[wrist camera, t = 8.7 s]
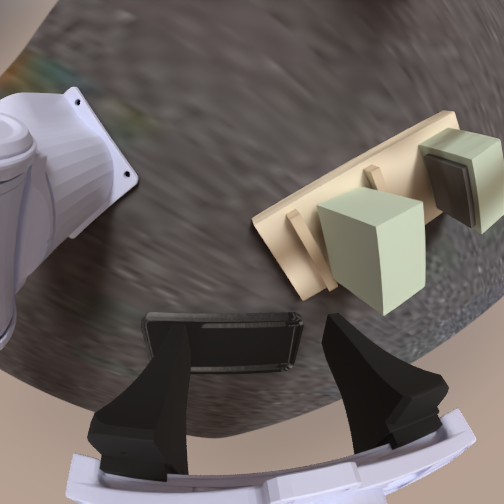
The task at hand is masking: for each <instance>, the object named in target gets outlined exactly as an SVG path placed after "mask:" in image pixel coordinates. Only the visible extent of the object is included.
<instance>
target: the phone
mask: <svg viewBox="0 0 504 504" xmlns="http://www.w3.org/2000/svg"><path fill="white" fill-rule="evenodd" d="M173 324H186V328H187V333H188V339H189V344H190V349H191V372H190V374H248V373H268V372H282V371H287V370H289V369H291V368H292V367H293V365H294V362H295V359H296V355H297V351H298V347H299V343H300V339H301V334H302V330H303V321H302V318H301V316H300V315H299V314H297V313H293V312H288V313H250V314H198V313H160V312H150V313H147V314H145V315H144V317H143V319H142V322H141V328H142V333H143V337H144V341H145V345H146V349H147V353H148V357H149V360H150V361H151V360H152V359H153V357H154V356H155V354H156V353H157V351H158V350H159V348H160V346H161V345H162V343H163V341H164V340H165V338H166V336H167V334H168V332H169V331H170V329H171V327H172V325H173Z"/></svg>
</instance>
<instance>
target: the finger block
mask: <svg viewBox="0 0 504 504" xmlns="http://www.w3.org/2000/svg"><path fill="white" fill-rule="evenodd" d="M316 206H317V210H318V214H319V218H320V222H321V226H322V231H323V235H324V239H325V244H326V248H327V253H328V257H329V262H330V267H331V272H332V277H333V279H334V280H336V281H337V282H339V283H340V284H341V285H343V286H344V287H345V288H347V289H348V290H349V291H351V292H352V293H353V294H355V295H356V296H357V297H359V298H360V299H361V300H363V301H364V302H365V303H367V304H368V305H369V306H371V307H372V308H373V309H375V310H376V311H377V312H379V313H380V314H381V315H383V316H385V315H386V314H387V313H389V312H390V311H392V310H393V309H395V308H396V307H397V306H399V305H400V304H402V303H403V302H404V301H406V300H407V299H409V298H410V297H411V296H413V295H414V294H415V293H417V292H418V291H419V290H421V289H422V288H423V287H424V286H425V225H424V210H423V202H422V201H418V200H414V199H410V198H407V197H403V196H399V195H395V194H391V193H386V192H382V191H378V190H374V189H369V188H365V187H358V188H356V189H353V190H351V191H348V192H346V193H344V194H341V195H339V196H336V197H334V198H332V199H329V200H327V201H324V202H322V203H320V204H317V205H316Z"/></svg>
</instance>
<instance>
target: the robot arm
mask: <svg viewBox="0 0 504 504" xmlns="http://www.w3.org/2000/svg"><path fill="white" fill-rule="evenodd" d="M79 99H80V101H81V102H80V104H79V105H77V101H78V100H79ZM126 171H128V172H130V177H127V176H126V175H125V172H126ZM138 180H139V179H138V176H137V174H136V173H135V171H134V170H133V168H132V167H131V166H130V164H129V163H128V161H127V160H126V159H125V157H124V156H123V154H122V153H121V151H120V150H119V149H118V147H117V146H116V144H115V143H114V141H113V140H112V138H111V137H110V136H109V134H108V133H107V131H106V130H105V128H104V127H103V125H102V124H101V122H100V121H99V119H98V118H97V116H96V115H95V113H94V112H93V110H92V109H91V107H90V106H89V104H88V103H87V101H86V100H85V98H84V97H83V95H82V93H81V92H80V90H79V89H78V88H77V87H71V88H70V89H68V90H67V91H66V92H65V93H64V94H49V93H16V94H13V95H10V96H8V97H5V98H3V99H1V100H0V350H1V349H2V348H3V347H4V346H5V345H6V344H7V342H8V341H9V339H10V338H11V336H12V333H13V331H14V328H15V324H16V316H17V312H16V304H15V298H14V295H15V294H16V293H17V292H18V291H19V290H20V288H21V287H22V286H23V285H24V284H25V283H26V278H27V276H28V275H30V274H31V273H32V272H33V271H34V270H35V269H36V268H37V267H38V266H39V265H40V264H41V263H42V262H43V261H44V260H45V259H46V258H47V257H48V256H49V255H50V254H51V253H52V252H53V251H54V250H55V249H56V248H57V247H58V246H59V245H60V244H61V243H62V242H63V241H64V240H65V239H66V238H67V237H70V238H72V239H74V238H75V237H76V236H77V235H78V234H80V233H81V232H82V231H83V230H84V229H85V228H86V227H87V226H88V225H89V224H90V223H91V222H92V221H94V220H95V219H96V218H97V217H98V216H99V215H100V214H101V213H103V212H104V211H105V210H106V209H107V208H108V207H109V206H111V205H112V204H113V203H114V202H115V201H117V200H118V199H119V198H120V197H121V196H123V195H124V194H125V193H126V192H127V191H129V190H130V189H131V188H132V187H134V186H135V185H136V184H137V183H138ZM322 346H323V350H324V354H325V357H326V360H327V362H328V365H329V367H330V370H331V372H332V374H333V376H334V379H335V381H336V383H337V386H338V388H339V390H340V393H341V396H342V399H343V402H344V406H345V410H346V414H347V418H348V422H349V426H350V431H351V436H352V442H353V448H354V455H351V456H348V457H344V458H340V459H336V460H332V461H328V462H323V463H319V464H314V465H309V466H304V467H298V468H292V469H286V470H279V471H271V472H262V473H252V474H239V475H238V474H237V475H189V474H188V462H187V448H186V447H187V445H186V404H187V396H188V388H189V380H190V372H191V349H190V344H189V339H188V333H187V328H186V324H173V325H172V327H171V329H170V331H169V332H168V334H167V336H166V338H165V340H164V341H163V343H162V345H161V346H160V348H159V350H158V351H157V353H156V354H155V356H154V357H153V359H152V360H151V361H150V363H149V364H148V366H147V367H146V368H145V369H144V371H143V372H142V373H141V374H140V375H139V377H138V378H137V379H136V380H135V381H134V382H133V383H132V384H131V385H130V386H129V387H128V388H127V389H126V390H125V391H124V392H123V393H121V394H120V395H119V396H118V397H117V398H116V399H114V400H113V401H112V402H111V403H109V404H108V405H106V406H105V407H103V408H102V409H100V410H99V411H97V412H95V413H94V416H93V418H92V421H91V424H90V428H89V432H88V436H87V438H88V441H89V442H90V444H91V445H92V446H93V447H94V448H95V449H96V450H97V451H98V452H99V453H100V454H101V455H102V457H101V461H100V460H99V459H96V458H93V457H89V456H85V455H81V454H77V453H74V454H73V458H72V462H71V467H70V472H69V477H68V482H67V488H66V494H65V495H66V497H68V498H70V499H71V500H73V501H75V502H77V503H79V504H387V501H386V498H385V495H388V494H390V493H392V492H394V491H396V490H399V489H401V488H403V487H405V486H407V485H409V484H411V483H413V482H415V481H417V480H419V479H421V478H423V477H424V476H426V475H428V474H430V473H432V472H433V471H435V470H437V469H439V468H441V467H442V466H444V465H446V464H447V463H449V462H451V461H452V460H454V459H455V458H456V457H457V456H459V455H460V454H461V453H462V452H464V451H465V450H466V449H467V448H468V447H469V446H471V445H472V444H473V443H474V442H475V441H476V438H475V436H474V434H473V432H472V430H471V429H470V427H469V425H468V424H467V422H466V420H465V418H464V417H463V415H462V414H461V412H460V410H459V409H458V408H456V409H454V410H452V411H450V412H448V413H446V414H445V415H443V416H442V417H440V418H439V417H438V415H437V414H438V413H439V410H438V408H437V406H438V405H439V404H440V402H441V401H442V400H443V399H444V397H445V396H446V394H447V392H448V389H449V387H448V385H447V383H446V382H445V380H444V379H443V378H442V376H441V375H439V374H435V373H432V372H429V371H425V370H422V369H420V368H417V367H415V366H412V365H410V364H408V363H406V362H404V361H402V360H400V359H398V358H396V357H394V356H393V355H391V354H390V353H388V352H386V351H385V350H383V349H382V348H380V347H379V346H377V345H376V344H375V343H373V342H372V341H371V340H369V339H368V338H367V337H366V336H364V335H363V334H362V333H361V332H360V331H358V330H357V329H356V328H355V327H354V326H353V325H352V324H350V323H349V322H348V321H347V320H346V319H345V318H344V317H342V316H341V315H340V314H339V313H336V314H328V316H327V321H326V325H325V330H324V334H323V338H322Z"/></svg>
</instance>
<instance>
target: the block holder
mask: <svg viewBox="0 0 504 504" xmlns="http://www.w3.org/2000/svg"><path fill="white" fill-rule="evenodd" d="M358 187H365V188H369V189H374V190H378V191H382V192H386V193H391V194H395V195H399V196H403V197H407V198H410V199H414V200H418V201H422V202H423V210H424V225H426V224H427V223H428V222H430V221H431V220H433V219H434V218H436V217H437V216H438V215H440V214H441V213H442V212H444V213H446V214H448V215H450V216H451V217H453V218H455V219H456V220H458V221H460V222H461V223H463V224H465V225H466V226H468V227H470V228H472V229H474V230H476V231H477V232H479V233H480V234H483V233H484V232H485V231H486V230H487V229H488V228H489V227H490V226H492V225H493V224H494V223H495V222H496V221H497V220H498V219H499V218H500V217H501V216H502V215H503V214H504V160H503V153H502V147H501V142H500V139H497V138H493V137H489V136H485V135H481V134H477V133H472V132H468V131H463V130H459V126H458V123H457V119H456V116H455V113H454V112H452V111H441V112H439V113H437V114H436V115H434V116H432V117H430V118H428V119H426V120H424V121H422V122H420V123H418V124H416V125H415V126H413V127H411V128H409V129H407V130H405V131H403V132H401V133H400V134H398V135H396V136H394V137H392V138H390V139H388V140H387V141H385V142H383V143H381V144H379V145H377V146H376V147H374V148H372V149H370V150H368V151H367V152H365V153H363V154H361V155H359V156H358V157H356V158H354V159H352V160H350V161H349V162H347V163H345V164H343V165H342V166H340V167H338V168H336V169H335V170H333V171H331V172H329V173H328V174H326V175H324V176H322V177H321V178H319V179H317V180H315V181H314V182H312V183H310V184H308V185H307V186H305V187H303V188H302V189H300V190H298V191H297V192H295V193H293V194H291V195H290V196H288V197H286V198H285V199H283V200H281V201H280V202H278V203H276V204H275V205H273V206H271V207H269V208H268V209H266V210H264V211H263V212H261V213H260V214H258V215H256V216H255V217H253V218H252V221H253V224H254V226H255V228H256V229H257V231H258V232H259V234H260V235H261V237H262V238H263V240H264V241H265V243H266V245H267V246H268V248H269V249H270V251H271V252H272V254H273V255H274V257H275V258H276V260H277V261H278V263H279V264H280V266H281V268H282V269H283V271H284V272H285V274H286V275H287V277H288V278H289V280H290V282H291V283H292V285H293V286H294V288H295V289H296V291H297V292H298V294H299V296H300V297H301V299H302V300H303V301H304V300H306V299H308V298H309V297H311V296H313V295H315V294H316V293H318V292H320V291H322V290H323V289H325V288H328V290H329V291H331V290H333V289H335V288H336V287H338V285H337V283H336V282H337V281H336V280H334V279H333V277H332V272H331V267H330V262H329V257H328V253H327V248H326V244H325V239H324V235H323V231H322V226H321V222H320V218H319V214H318V210H317V206H316V205H317V204H320V203H322V202H324V201H327V200H329V199H332V198H334V197H336V196H339V195H341V194H344V193H346V192H348V191H351V190H353V189H356V188H358Z"/></svg>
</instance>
